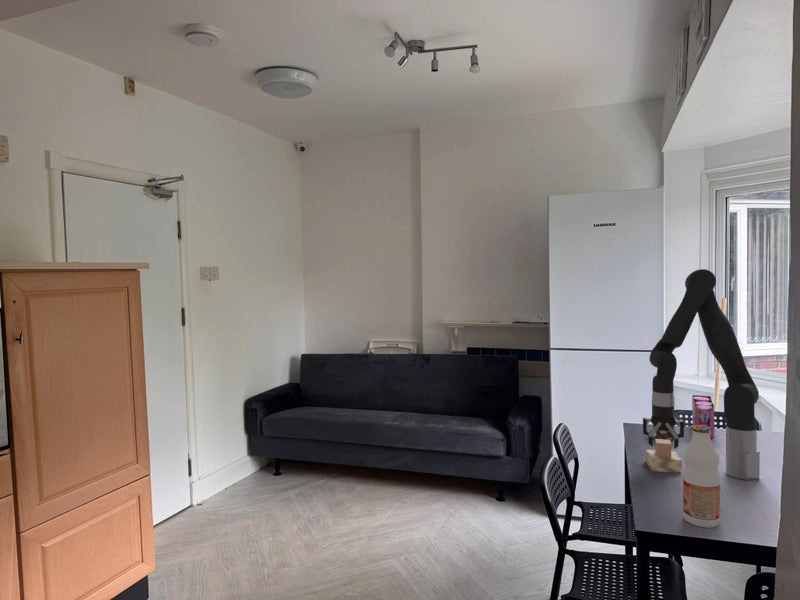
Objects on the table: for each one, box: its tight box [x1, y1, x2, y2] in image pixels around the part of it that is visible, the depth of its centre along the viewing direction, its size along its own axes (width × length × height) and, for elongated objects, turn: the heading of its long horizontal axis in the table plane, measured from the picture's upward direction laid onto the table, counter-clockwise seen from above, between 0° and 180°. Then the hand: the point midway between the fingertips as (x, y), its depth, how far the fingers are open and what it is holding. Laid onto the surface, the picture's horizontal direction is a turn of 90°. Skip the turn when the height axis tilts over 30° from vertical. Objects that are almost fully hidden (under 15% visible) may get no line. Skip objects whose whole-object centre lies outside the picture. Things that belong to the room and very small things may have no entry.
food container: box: [655, 415, 677, 442], centre depth 230 cm, size 12×6×10 cm, turn 179°
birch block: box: [645, 449, 683, 474], centre depth 198 cm, size 10×10×5 cm
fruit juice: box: [682, 424, 721, 529], centre depth 154 cm, size 9×9×28 cm
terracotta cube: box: [654, 438, 672, 457], centre depth 197 cm, size 5×5×5 cm
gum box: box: [691, 394, 715, 439], centre depth 240 cm, size 24×8×14 cm, turn 153°
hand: (663, 446), depth 197 cm, fingers open, 7 cm apart
